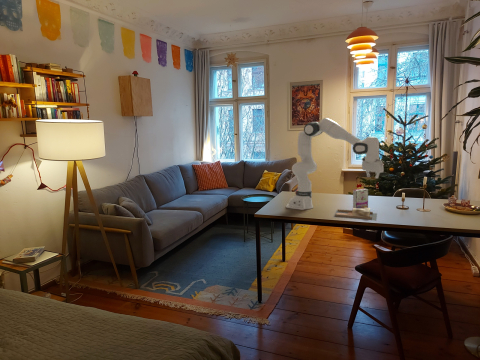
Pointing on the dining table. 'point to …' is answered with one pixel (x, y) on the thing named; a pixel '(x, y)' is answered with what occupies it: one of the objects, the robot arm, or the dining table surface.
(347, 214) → the mat
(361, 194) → the candy bar box
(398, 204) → the dining table surface
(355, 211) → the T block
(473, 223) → the dining table surface
